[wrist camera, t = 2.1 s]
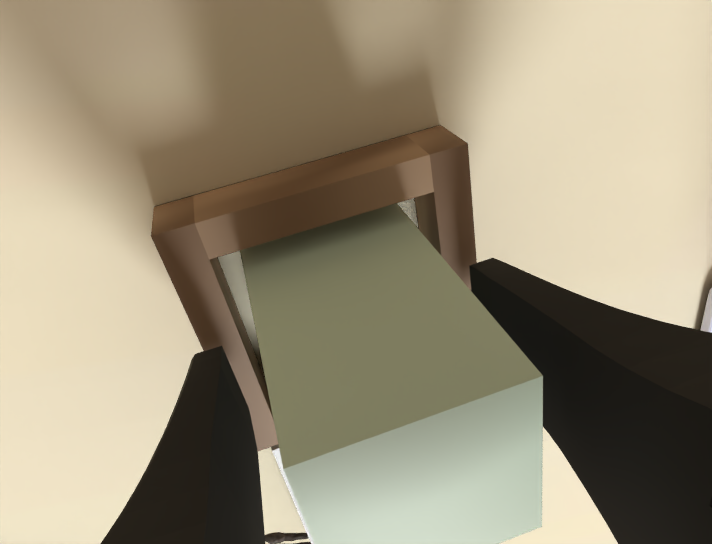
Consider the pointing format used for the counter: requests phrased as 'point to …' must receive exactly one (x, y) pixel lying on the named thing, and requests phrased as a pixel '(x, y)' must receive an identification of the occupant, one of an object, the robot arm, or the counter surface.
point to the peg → (393, 389)
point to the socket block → (303, 212)
